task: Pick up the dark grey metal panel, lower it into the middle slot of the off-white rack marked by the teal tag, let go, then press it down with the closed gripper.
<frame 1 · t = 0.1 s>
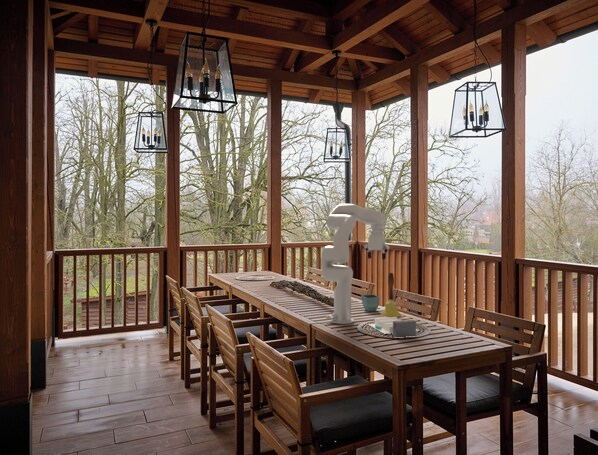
hand: (376, 258, 299), 31 cm above the table, tool pointing down, fingers open, 9 cm apart
flower pot: (370, 310, 291), on the table
handbell: (390, 314, 280), on the table
panel: (404, 337, 231), on the table
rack: (393, 328, 247), on the table
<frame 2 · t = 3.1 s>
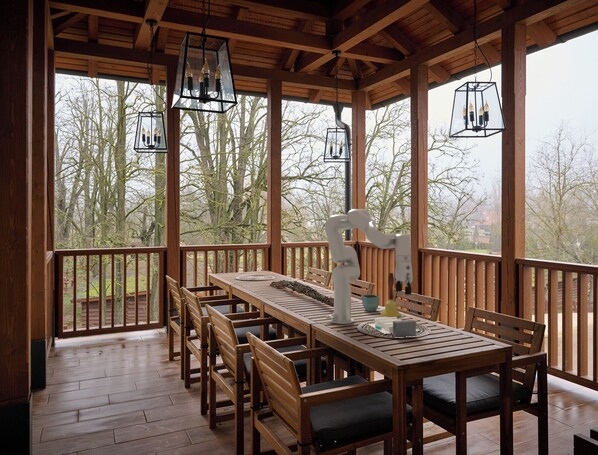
hand: (403, 292, 234), 21 cm above the table, tool pointing down, fingers open, 9 cm apart
nothing on the table moved.
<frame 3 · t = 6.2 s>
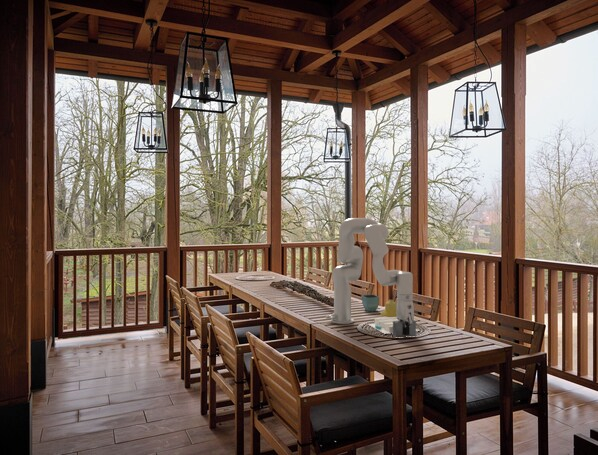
hand: (404, 333, 231), 2 cm above the table, tool pointing down, fingers closed on panel, 3 cm apart
panel: (404, 337, 231), on the table, touching gripper
everything else where it was.
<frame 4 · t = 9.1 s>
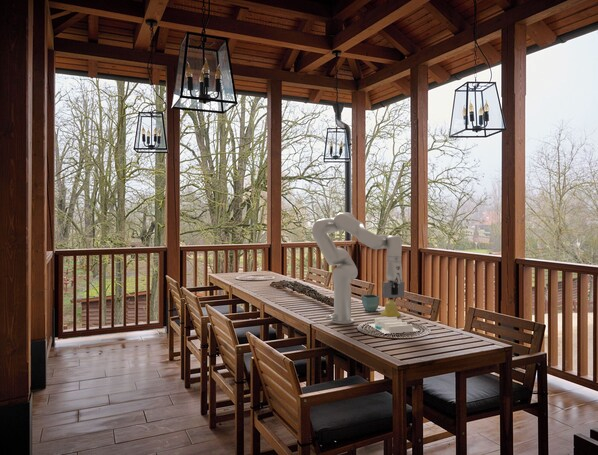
hand: (393, 293, 245), 19 cm above the table, tool pointing down, fingers closed on panel, 3 cm apart
panel: (393, 296, 246), point 17 cm above the table, touching gripper
everything else where it was.
when the fingers open (4 cm above the table, at t = 12.3 s): panel drops 2 cm, resting on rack.
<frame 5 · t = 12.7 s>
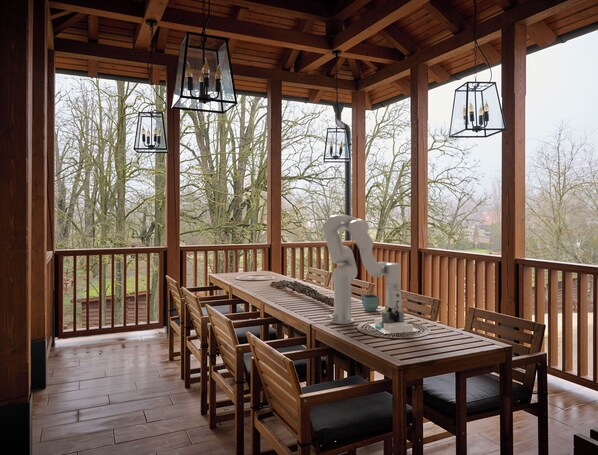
hand: (393, 319, 247), 5 cm above the table, tool pointing down, fingers open, 6 cm apart
panel: (392, 327, 247), point 1 cm above the table, touching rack
everything else where it was.
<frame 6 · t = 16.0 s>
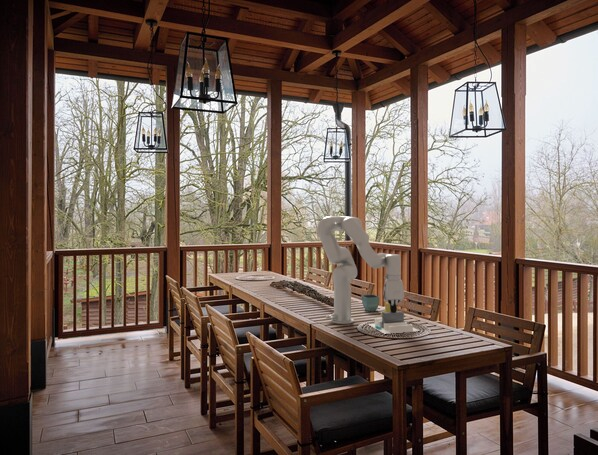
hand: (393, 312, 247), 9 cm above the table, tool pointing down, fingers closed
panel: (392, 327, 247), point 1 cm above the table, touching gripper, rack
everything else where it was.
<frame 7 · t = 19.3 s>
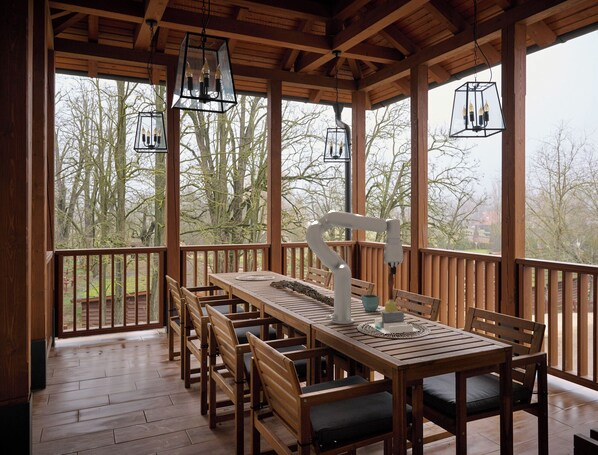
hand: (393, 274, 259), 27 cm above the table, tool pointing down, fingers closed
panel: (392, 327, 247), point 1 cm above the table, touching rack
everything else where it was.
at the end: panel 0.1 cm off-centre on the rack, point 0.8 cm above the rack's base; panel tilted 0°; the gripper is holding nothing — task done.
